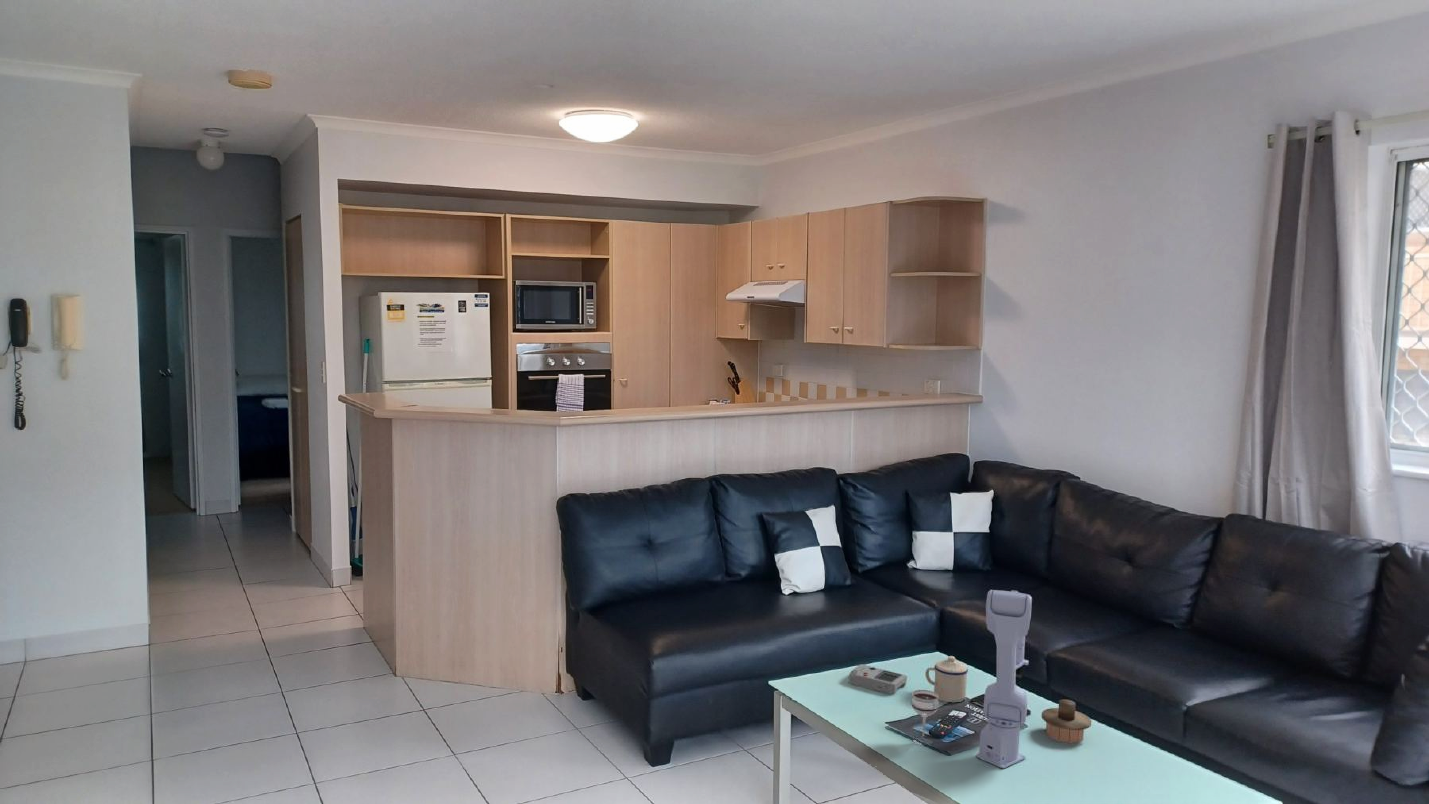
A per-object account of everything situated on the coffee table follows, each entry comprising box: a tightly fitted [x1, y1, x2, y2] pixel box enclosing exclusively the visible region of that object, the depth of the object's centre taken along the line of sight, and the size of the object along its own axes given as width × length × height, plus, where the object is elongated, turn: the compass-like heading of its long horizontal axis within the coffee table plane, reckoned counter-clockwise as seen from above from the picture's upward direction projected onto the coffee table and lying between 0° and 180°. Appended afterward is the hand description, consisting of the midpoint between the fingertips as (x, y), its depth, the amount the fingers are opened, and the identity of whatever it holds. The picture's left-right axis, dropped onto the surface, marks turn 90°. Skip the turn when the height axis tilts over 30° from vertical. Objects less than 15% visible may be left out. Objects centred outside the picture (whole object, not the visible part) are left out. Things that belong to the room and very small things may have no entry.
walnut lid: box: [1041, 699, 1092, 730], centre depth 245 cm, size 12×12×5 cm
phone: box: [970, 693, 1032, 717], centre depth 262 cm, size 8×1×15 cm
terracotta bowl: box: [1045, 722, 1085, 744], centre depth 246 cm, size 9×9×4 cm
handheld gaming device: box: [848, 663, 908, 695], centre depth 276 cm, size 9×15×4 cm, turn 56°
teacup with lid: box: [925, 655, 969, 703], centre depth 269 cm, size 12×9×12 cm
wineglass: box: [910, 689, 940, 747], centre depth 240 cm, size 7×7×12 cm
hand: (1010, 693), depth 247 cm, fingers open, 7 cm apart
